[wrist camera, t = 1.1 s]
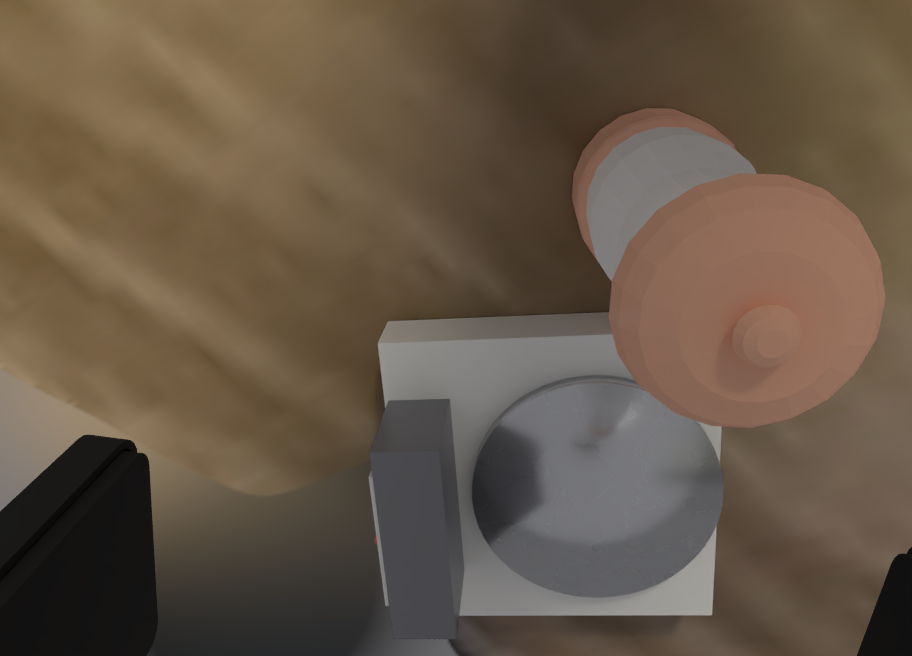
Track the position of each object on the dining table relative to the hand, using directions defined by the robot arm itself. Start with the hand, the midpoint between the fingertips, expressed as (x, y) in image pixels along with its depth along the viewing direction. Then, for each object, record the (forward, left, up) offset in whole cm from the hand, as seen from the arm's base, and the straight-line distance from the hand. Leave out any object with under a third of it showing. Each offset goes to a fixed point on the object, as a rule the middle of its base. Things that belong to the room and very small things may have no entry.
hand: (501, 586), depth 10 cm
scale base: (-1, +15, -29) cm, 32 cm away
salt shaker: (-6, +1, -29) cm, 30 cm away
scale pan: (-3, +15, -26) cm, 30 cm away
